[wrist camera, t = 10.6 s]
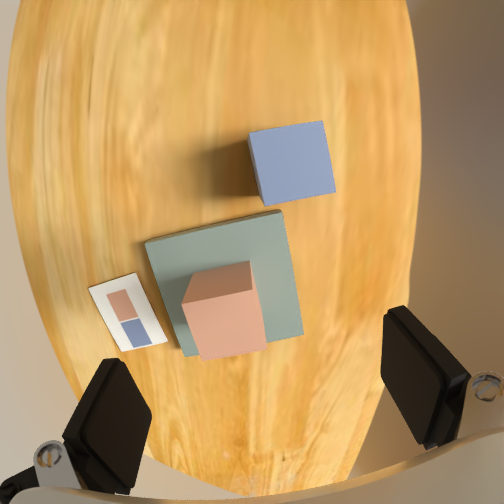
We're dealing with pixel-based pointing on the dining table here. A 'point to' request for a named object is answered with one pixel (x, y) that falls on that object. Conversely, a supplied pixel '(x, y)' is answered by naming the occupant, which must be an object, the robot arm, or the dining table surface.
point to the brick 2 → (291, 162)
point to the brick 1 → (225, 312)
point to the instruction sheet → (128, 313)
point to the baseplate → (227, 253)
